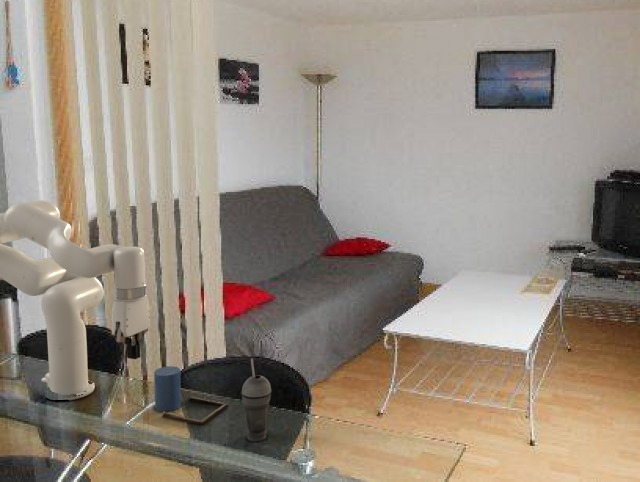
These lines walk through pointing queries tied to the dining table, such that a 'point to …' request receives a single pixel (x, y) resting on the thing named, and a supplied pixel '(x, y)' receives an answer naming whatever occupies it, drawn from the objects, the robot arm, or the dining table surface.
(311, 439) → the dining table surface
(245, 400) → the beverage cup
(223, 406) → the frame
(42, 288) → the robot arm
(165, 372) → the can
